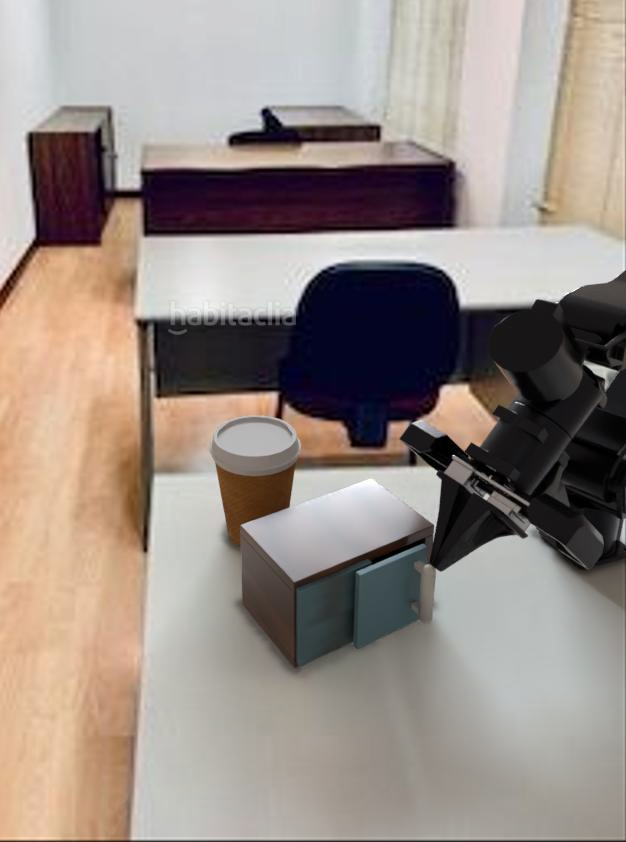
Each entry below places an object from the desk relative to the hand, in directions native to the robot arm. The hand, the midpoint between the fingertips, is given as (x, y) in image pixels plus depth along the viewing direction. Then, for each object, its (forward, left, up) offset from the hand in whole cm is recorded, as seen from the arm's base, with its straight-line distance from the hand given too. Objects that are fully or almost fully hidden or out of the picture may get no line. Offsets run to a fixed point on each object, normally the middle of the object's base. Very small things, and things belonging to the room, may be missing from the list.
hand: (435, 567), depth 65 cm
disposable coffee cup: (+9, -20, -8) cm, 23 cm away
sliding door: (+3, 0, -7) cm, 8 cm away
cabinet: (+6, -7, -8) cm, 12 cm away
